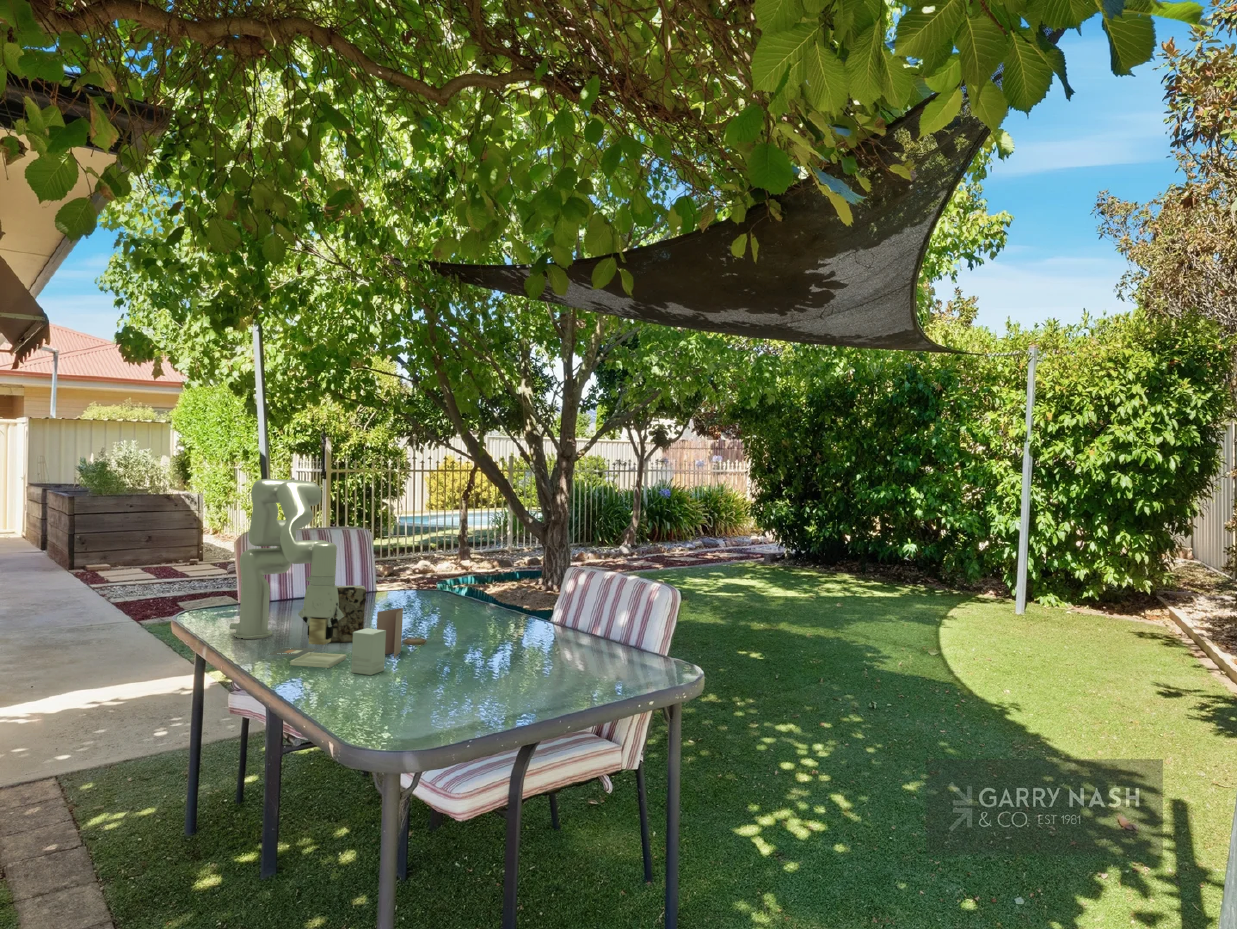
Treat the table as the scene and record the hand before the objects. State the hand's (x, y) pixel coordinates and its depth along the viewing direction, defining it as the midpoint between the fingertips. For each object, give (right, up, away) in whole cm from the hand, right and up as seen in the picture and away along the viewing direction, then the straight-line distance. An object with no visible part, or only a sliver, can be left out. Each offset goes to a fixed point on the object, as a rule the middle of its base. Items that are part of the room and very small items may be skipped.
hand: (320, 637), depth 253 cm
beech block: (0, -2, 0) cm, 2 cm away
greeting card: (+20, -9, +15) cm, 26 cm away
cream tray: (0, -8, 0) cm, 8 cm away
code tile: (-14, -8, +12) cm, 20 cm away
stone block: (-3, -9, +31) cm, 33 cm away
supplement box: (+18, -9, -8) cm, 22 cm away
